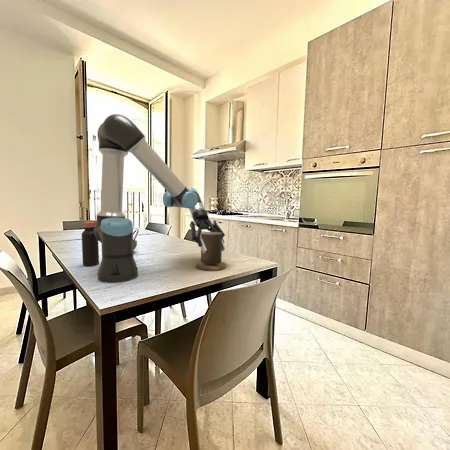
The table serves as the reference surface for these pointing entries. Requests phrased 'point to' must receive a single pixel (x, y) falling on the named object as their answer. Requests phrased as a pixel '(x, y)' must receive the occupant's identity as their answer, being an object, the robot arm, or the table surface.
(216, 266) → the trivet
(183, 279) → the table surface
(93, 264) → the bottle
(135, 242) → the mortar and pestle
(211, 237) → the pillar candle
